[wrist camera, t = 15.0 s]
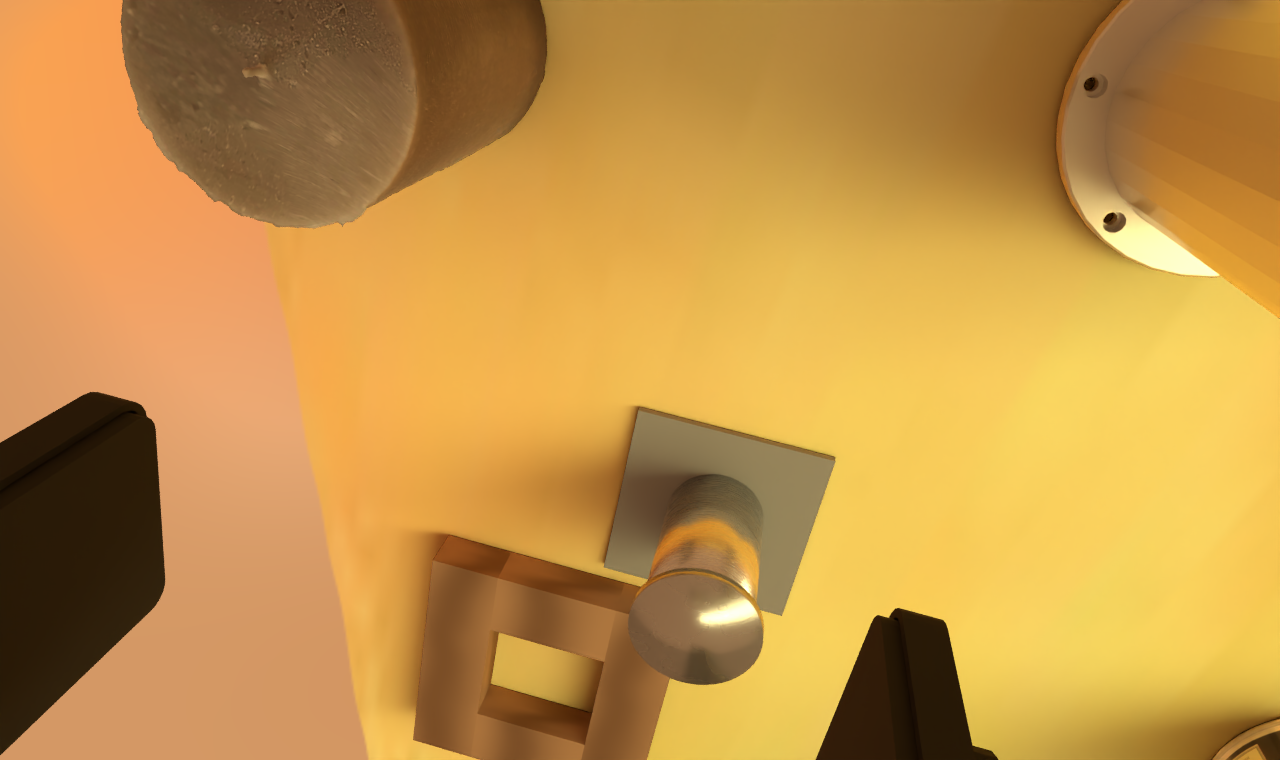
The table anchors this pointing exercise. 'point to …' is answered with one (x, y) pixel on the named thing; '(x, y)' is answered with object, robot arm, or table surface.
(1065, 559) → the table surface
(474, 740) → the brown wooden square frame
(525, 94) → the pillar candle
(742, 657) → the end cap
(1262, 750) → the coffee can
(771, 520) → the rubber mat
